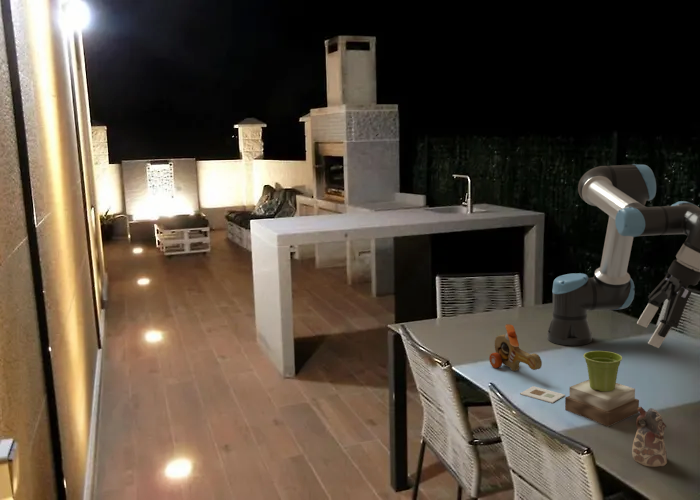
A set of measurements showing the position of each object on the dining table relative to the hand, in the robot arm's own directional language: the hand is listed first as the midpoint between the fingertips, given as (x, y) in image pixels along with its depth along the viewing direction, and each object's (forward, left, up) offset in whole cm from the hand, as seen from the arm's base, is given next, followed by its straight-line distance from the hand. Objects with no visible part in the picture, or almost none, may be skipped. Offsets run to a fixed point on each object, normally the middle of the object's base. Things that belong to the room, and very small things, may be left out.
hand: (647, 335), depth 169 cm
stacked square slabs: (-4, -13, -19) cm, 23 cm away
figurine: (+18, -27, -19) cm, 37 cm away
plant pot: (-4, -13, -13) cm, 19 cm away
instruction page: (-21, -16, -19) cm, 33 cm away
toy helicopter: (-39, -7, -20) cm, 44 cm away
